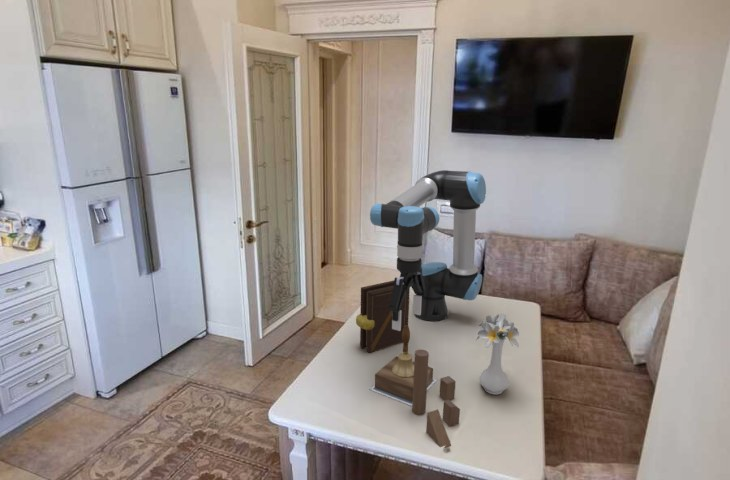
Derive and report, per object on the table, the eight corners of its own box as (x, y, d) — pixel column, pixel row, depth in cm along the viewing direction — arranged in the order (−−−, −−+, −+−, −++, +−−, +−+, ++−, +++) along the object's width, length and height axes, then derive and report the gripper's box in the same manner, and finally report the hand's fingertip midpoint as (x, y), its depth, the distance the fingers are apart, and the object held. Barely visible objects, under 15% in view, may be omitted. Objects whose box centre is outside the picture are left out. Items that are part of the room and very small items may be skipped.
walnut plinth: (395, 368, 156) (396, 356, 155) (432, 381, 149) (433, 368, 148) (374, 387, 145) (375, 373, 144) (413, 402, 138) (413, 388, 136)
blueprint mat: (396, 367, 159) (396, 365, 159) (437, 381, 150) (437, 379, 150) (368, 391, 144) (368, 389, 144) (412, 408, 136) (413, 406, 136)
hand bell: (387, 367, 148) (389, 322, 144) (409, 362, 151) (411, 318, 147) (399, 380, 141) (401, 333, 137) (422, 374, 144) (424, 329, 140)
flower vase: (510, 376, 154) (517, 308, 148) (515, 407, 137) (523, 333, 131) (471, 371, 157) (477, 304, 151) (471, 401, 140) (477, 328, 133)
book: (397, 335, 183) (400, 277, 176) (411, 344, 176) (413, 284, 169) (352, 349, 171) (352, 288, 165) (364, 359, 164) (365, 295, 158)
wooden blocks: (440, 450, 119) (445, 383, 114) (402, 408, 136) (404, 349, 131) (490, 432, 126) (496, 368, 121) (447, 394, 143) (451, 337, 138)
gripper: (416, 246, 148) (414, 305, 154) (377, 265, 128) (376, 333, 134) (437, 250, 144) (434, 310, 150) (400, 270, 124) (398, 340, 130)
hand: (406, 321), depth 142 cm, fingers open, 13 cm apart
